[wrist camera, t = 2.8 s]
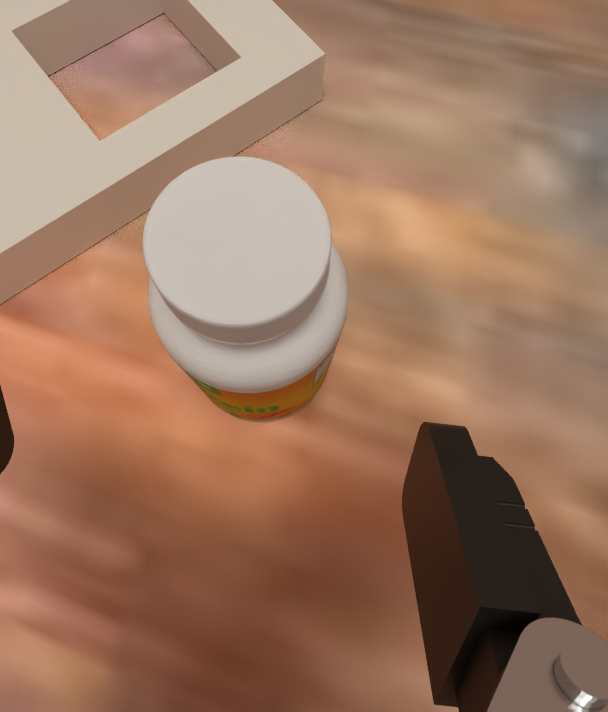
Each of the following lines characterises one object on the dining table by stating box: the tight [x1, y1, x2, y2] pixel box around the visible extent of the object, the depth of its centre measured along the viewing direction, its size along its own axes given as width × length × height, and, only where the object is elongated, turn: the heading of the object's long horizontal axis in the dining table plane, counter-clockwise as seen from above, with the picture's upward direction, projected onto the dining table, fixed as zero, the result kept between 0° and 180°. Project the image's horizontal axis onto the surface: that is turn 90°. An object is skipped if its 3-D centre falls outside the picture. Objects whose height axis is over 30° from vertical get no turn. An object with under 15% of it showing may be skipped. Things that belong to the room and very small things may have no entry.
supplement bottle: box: [143, 157, 348, 422], centre depth 14 cm, size 5×5×10 cm
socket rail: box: [0, 0, 325, 304], centre depth 20 cm, size 26×11×2 cm, turn 129°
